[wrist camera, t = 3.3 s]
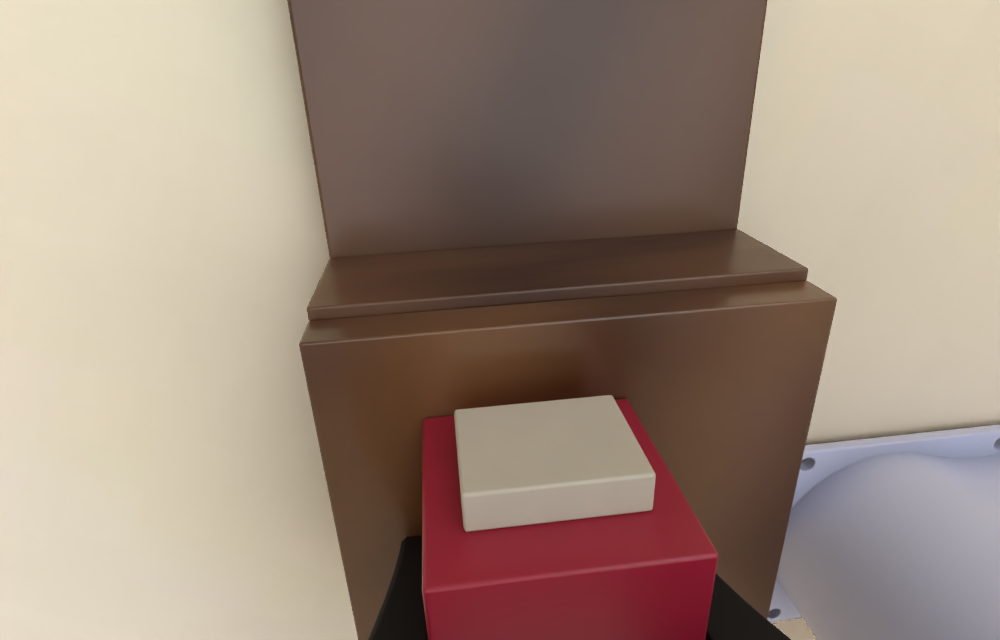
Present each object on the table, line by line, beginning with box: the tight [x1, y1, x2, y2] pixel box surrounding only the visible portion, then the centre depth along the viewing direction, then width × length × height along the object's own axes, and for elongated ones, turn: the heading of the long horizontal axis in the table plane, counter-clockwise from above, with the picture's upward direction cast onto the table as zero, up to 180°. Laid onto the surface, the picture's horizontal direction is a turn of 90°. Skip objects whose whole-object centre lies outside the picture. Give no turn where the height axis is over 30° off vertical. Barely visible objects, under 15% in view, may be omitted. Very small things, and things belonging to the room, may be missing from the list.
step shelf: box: [287, 0, 837, 640], centre depth 13 cm, size 10×21×6 cm, turn 2°
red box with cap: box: [422, 395, 718, 640], centre depth 11 cm, size 4×8×4 cm, turn 2°
